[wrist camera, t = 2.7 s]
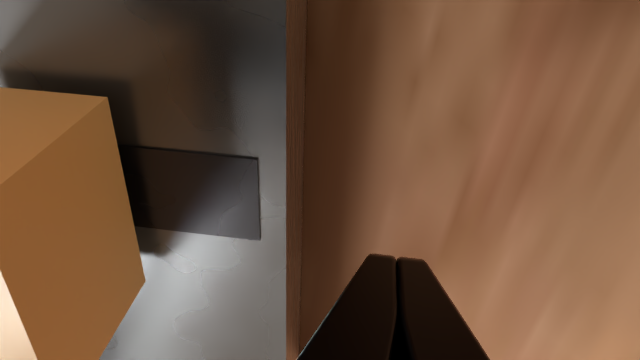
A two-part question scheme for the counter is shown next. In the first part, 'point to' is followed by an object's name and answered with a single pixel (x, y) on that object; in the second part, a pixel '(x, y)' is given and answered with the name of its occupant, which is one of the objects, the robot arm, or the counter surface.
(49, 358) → the fader tab
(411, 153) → the counter surface
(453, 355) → the robot arm
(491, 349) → the counter surface
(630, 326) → the counter surface
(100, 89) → the console
